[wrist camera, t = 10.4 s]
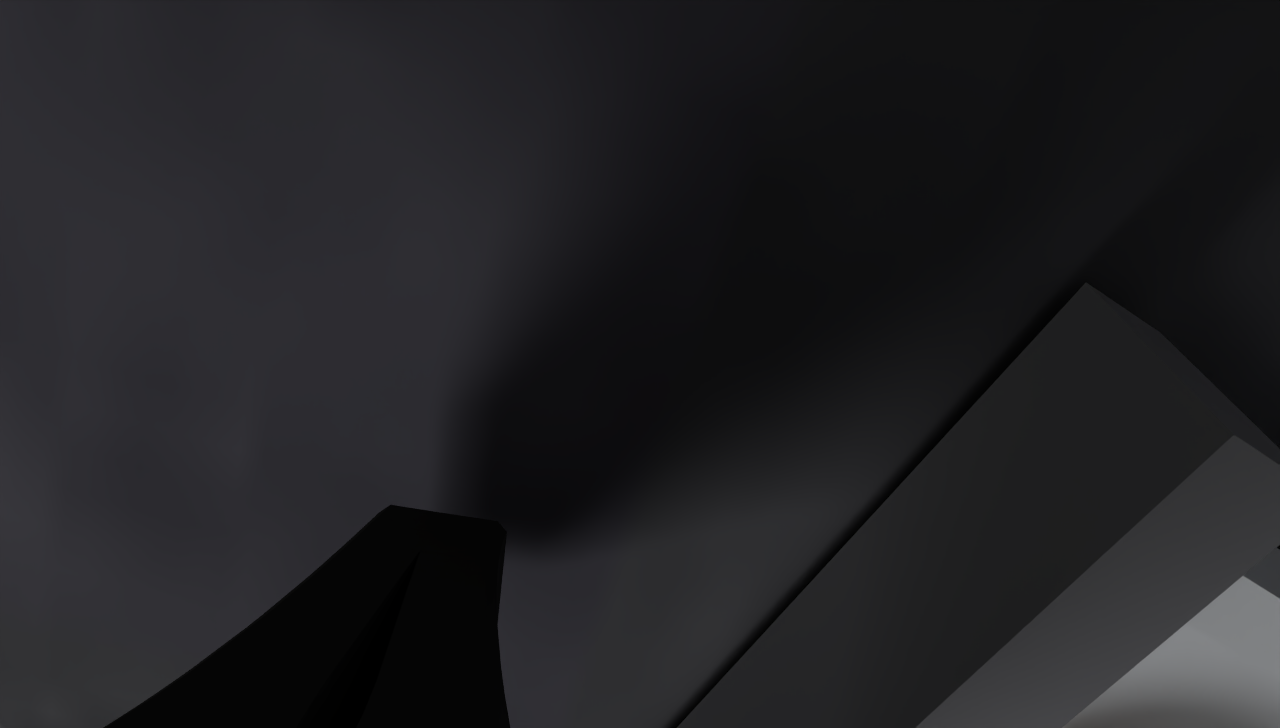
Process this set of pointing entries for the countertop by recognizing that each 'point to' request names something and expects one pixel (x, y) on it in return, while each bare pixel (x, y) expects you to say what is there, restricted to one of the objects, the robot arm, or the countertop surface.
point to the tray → (1048, 562)
